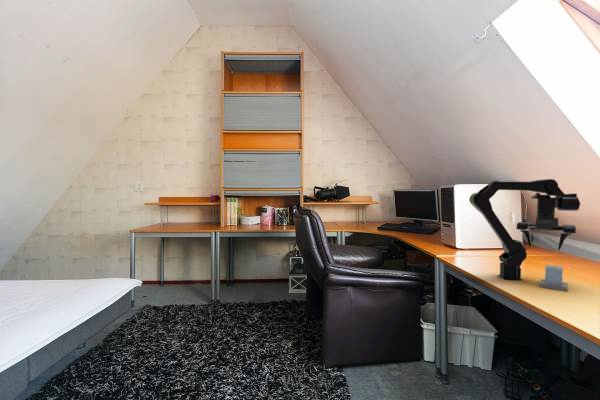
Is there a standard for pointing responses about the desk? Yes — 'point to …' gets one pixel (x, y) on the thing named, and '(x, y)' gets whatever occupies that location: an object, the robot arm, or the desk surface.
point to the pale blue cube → (553, 275)
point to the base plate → (552, 286)
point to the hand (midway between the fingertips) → (544, 248)
